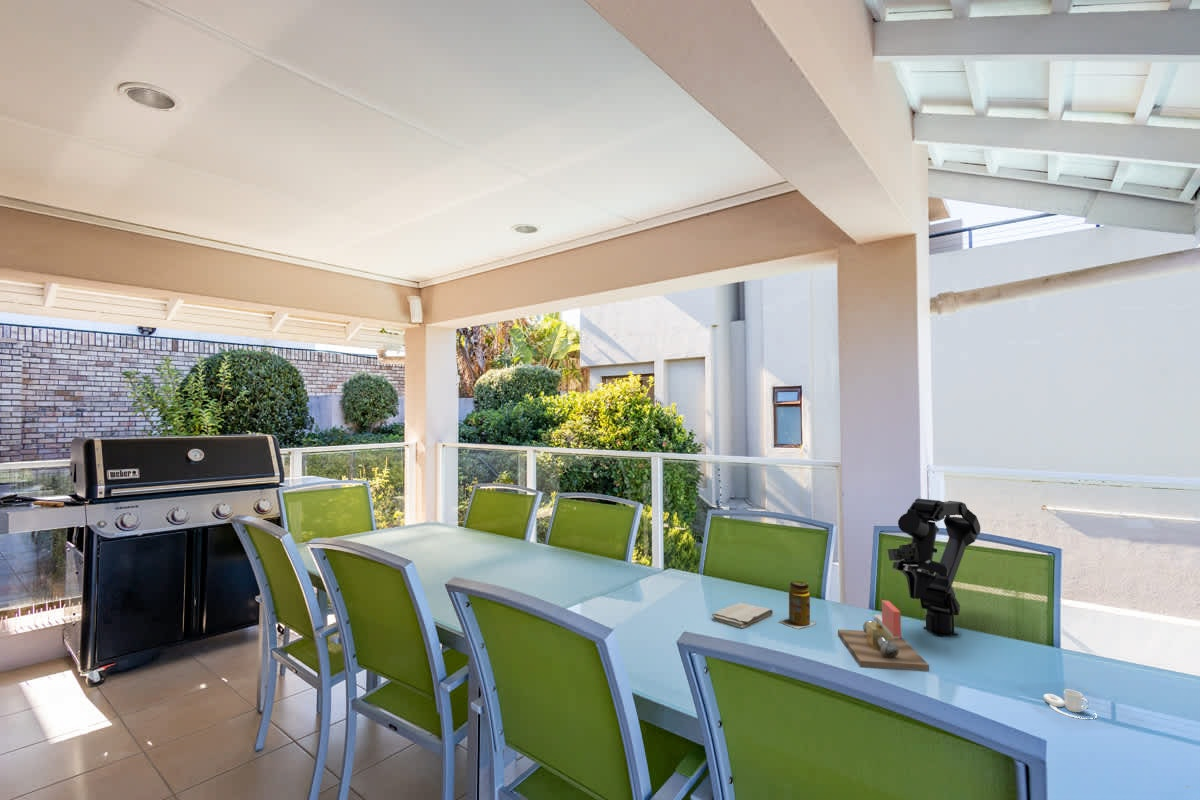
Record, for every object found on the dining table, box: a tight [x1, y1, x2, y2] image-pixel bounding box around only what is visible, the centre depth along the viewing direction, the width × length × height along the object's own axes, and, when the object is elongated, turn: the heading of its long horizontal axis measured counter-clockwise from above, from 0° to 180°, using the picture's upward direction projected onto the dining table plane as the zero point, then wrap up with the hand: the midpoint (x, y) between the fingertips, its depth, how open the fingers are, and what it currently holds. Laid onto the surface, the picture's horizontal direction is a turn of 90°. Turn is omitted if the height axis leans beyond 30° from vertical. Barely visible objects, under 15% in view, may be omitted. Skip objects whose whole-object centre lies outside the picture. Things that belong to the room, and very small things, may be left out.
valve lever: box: [873, 599, 902, 638], centre depth 149 cm, size 15×3×7 cm, turn 171°
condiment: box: [778, 580, 817, 630], centre depth 177 cm, size 7×8×12 cm
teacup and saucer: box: [1043, 688, 1098, 720], centre depth 124 cm, size 9×8×4 cm
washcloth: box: [711, 602, 774, 629], centre depth 182 cm, size 12×18×3 cm, turn 136°
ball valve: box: [862, 620, 899, 658], centre depth 155 cm, size 16×5×6 cm, turn 171°
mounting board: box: [837, 629, 930, 672], centre depth 155 cm, size 22×16×2 cm
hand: (914, 598), depth 160 cm, fingers closed
